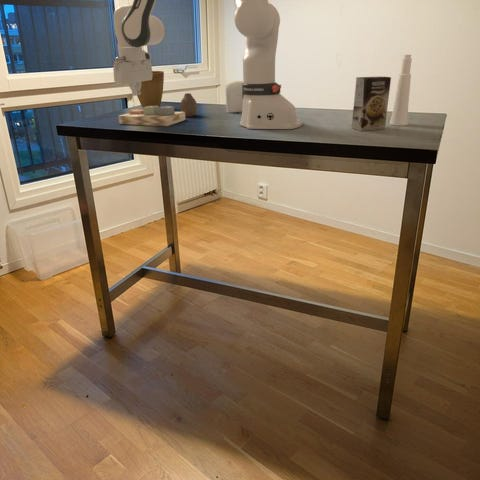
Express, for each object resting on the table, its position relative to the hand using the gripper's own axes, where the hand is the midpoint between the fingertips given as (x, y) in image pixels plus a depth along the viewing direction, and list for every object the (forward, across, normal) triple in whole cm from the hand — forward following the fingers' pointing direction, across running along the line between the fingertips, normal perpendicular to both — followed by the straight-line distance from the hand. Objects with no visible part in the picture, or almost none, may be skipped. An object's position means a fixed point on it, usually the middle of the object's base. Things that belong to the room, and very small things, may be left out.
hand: (136, 95), depth 163 cm
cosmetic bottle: (+12, +15, -95) cm, 97 cm away
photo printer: (+11, +30, -29) cm, 43 cm away
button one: (+9, 0, +1) cm, 9 cm away
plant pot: (+10, +29, +14) cm, 34 cm away
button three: (+7, 0, -6) cm, 9 cm away
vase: (+10, +16, -13) cm, 23 cm away
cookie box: (+12, +5, -86) cm, 87 cm away
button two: (+7, 0, -12) cm, 14 cm away
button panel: (+10, 0, -6) cm, 11 cm away
